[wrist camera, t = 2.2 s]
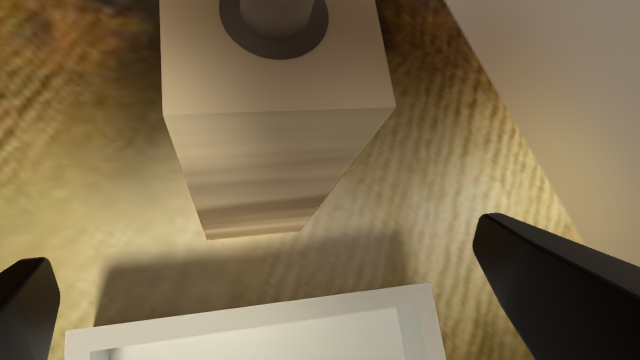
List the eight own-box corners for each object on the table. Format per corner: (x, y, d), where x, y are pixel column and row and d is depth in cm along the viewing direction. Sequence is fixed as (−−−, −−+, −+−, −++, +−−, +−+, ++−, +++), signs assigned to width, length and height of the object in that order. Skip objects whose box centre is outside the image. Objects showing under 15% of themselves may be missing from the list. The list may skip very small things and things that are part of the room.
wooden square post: (299, 231, 20) (459, 26, 6) (206, 240, 19) (129, 21, 5) (290, 147, 22) (402, -190, 7) (201, 152, 21) (128, -228, 6)
